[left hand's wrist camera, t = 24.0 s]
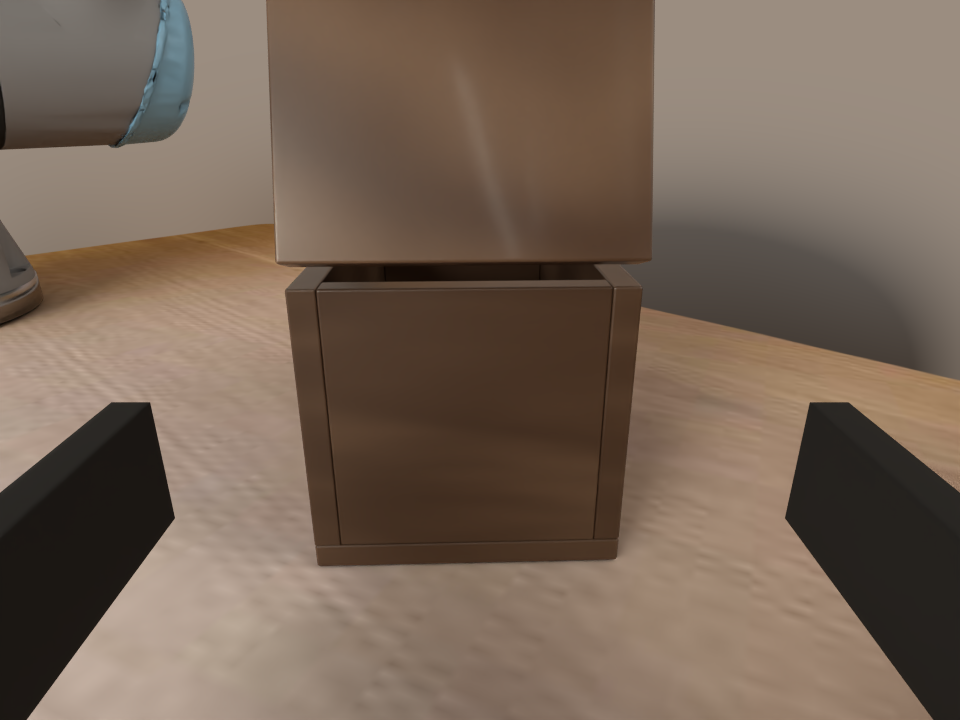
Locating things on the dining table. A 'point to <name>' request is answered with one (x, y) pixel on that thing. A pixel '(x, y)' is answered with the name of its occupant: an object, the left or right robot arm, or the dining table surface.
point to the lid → (461, 132)
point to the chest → (464, 410)
